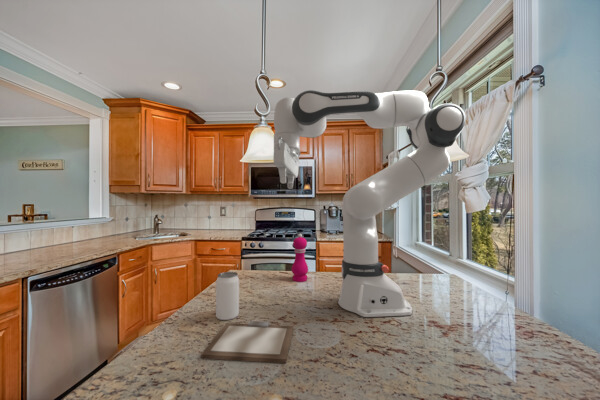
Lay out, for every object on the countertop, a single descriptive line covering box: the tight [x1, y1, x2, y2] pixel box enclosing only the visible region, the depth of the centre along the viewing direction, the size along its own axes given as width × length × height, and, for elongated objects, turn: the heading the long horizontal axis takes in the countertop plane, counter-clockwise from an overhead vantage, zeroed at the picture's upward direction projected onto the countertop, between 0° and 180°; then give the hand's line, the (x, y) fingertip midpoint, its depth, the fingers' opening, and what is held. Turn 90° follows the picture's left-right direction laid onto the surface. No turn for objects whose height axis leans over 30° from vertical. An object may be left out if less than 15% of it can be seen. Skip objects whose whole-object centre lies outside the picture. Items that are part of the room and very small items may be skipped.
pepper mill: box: [291, 233, 309, 283], centre depth 108 cm, size 7×7×20 cm
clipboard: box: [200, 320, 294, 364], centre depth 59 cm, size 18×14×2 cm
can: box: [215, 271, 240, 321], centre depth 73 cm, size 6×6×12 cm
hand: (286, 185), depth 83 cm, fingers open, 8 cm apart
